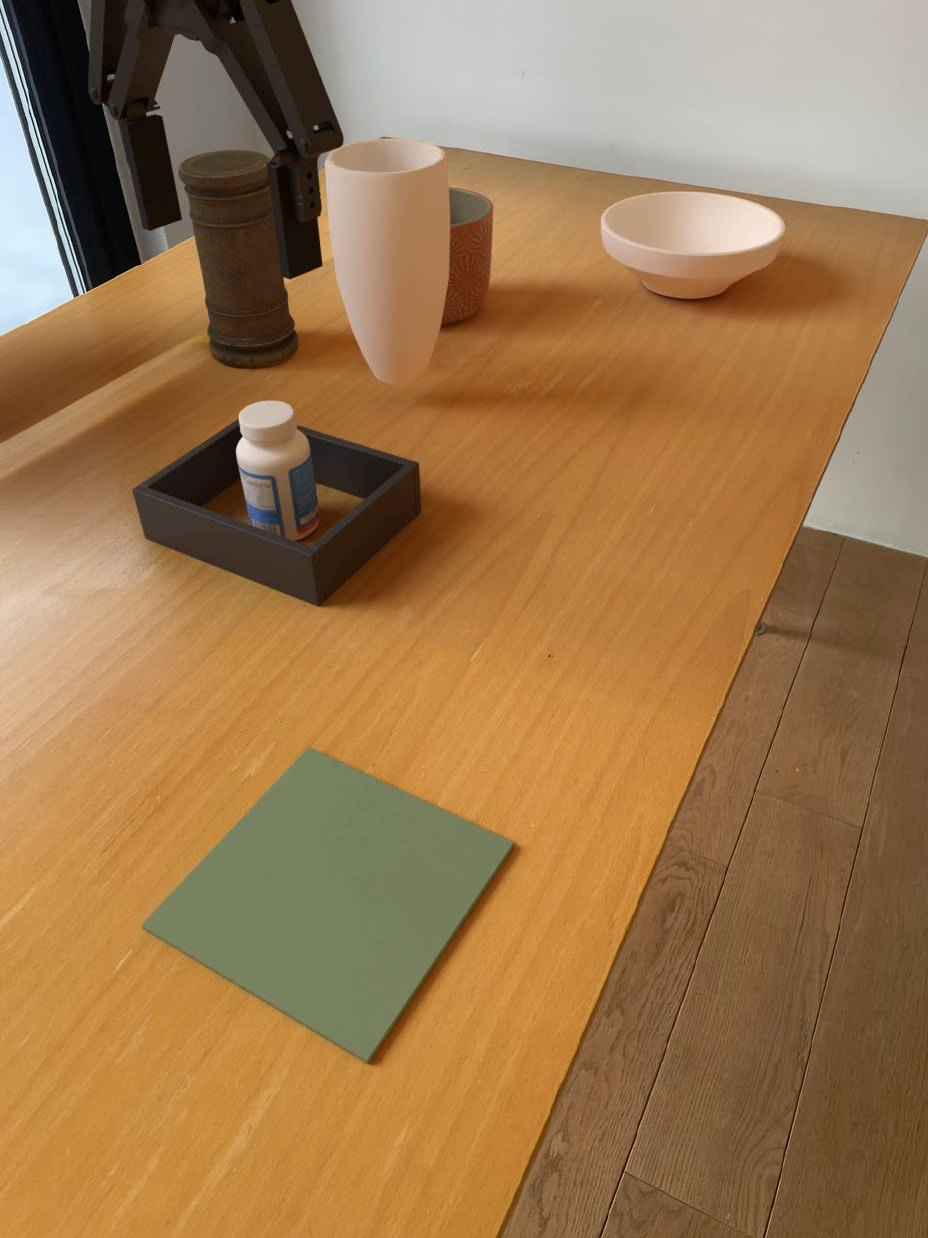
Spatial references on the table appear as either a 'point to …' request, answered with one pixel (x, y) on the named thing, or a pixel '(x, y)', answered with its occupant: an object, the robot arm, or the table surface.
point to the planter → (468, 254)
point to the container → (239, 258)
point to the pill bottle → (277, 471)
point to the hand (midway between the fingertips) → (229, 247)
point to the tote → (267, 556)
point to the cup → (391, 249)
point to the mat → (332, 899)
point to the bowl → (691, 240)
